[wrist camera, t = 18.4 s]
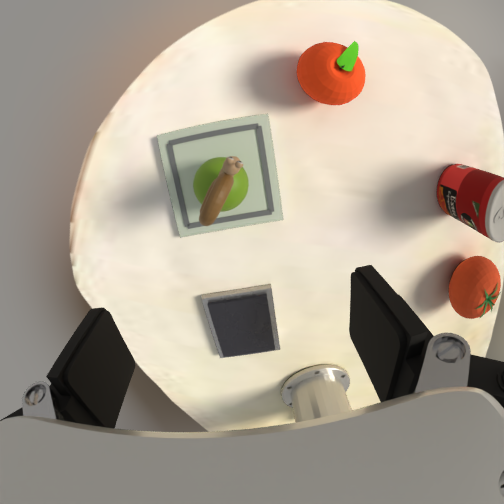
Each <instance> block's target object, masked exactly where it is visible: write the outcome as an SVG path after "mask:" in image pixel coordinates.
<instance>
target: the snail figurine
mask: <svg viewBox="0 0 504 504" xmlns="http://www.w3.org/2000/svg"><path fill="white" fill-rule="evenodd" d="M248 187H249V181H248V176H247V173H246V171H245V170H244V168H243V162H241V161H240V159H239V158H238V157H236V156H230V157H216V158H212V159H210V160H208V161H206V162H205V163H203V164H202V165H201V166H200V167H199V169H198V170H197V172H196V174H195V177H194V181H193V189H194V193H195V196H196V198H197V199H198V201H199V202H200V203H201V204H202V206H201V208H200V215H199V222H200V223H201V224H202V225H203V226H210V225H211V224H213V223H214V221H215V220H216V218H217V217H218V215H219V213H220V212H225V211H229V210H232V209H234V208H236V207H237V206H238V205H240V204H241V203H242V201H243V200H244V199H245V197H246V195H247V192H248Z"/></svg>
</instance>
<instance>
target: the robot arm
mask: <svg viewBox="0 0 504 504" xmlns="http://www.w3.org/2000/svg"><path fill="white" fill-rule="evenodd" d="M349 331H350V337H351V339H352V341H353V344H354V346H355V348H356V350H357V352H358V354H359V356H360V358H361V360H362V362H363V364H364V366H365V369H366V371H367V373H368V375H369V377H370V379H371V382H372V384H373V386H374V388H375V390H376V393H377V395H378V397H379V399H380V401H381V402H380V403H377V404H374V405H370V406H367V407H363V408H360V409H356V410H352V409H351V406H350V404H349V401H348V398H347V395H346V391H347V389H348V387H349V384H350V378H349V375H348V373H347V371H346V370H344V369H343V368H341V367H339V366H335V365H318V366H313V367H310V368H307V369H304V370H302V371H300V372H298V373H296V374H294V375H293V376H292V377H290V378H289V379H288V380H287V381H286V382H285V384H284V385H283V387H282V390H281V395H282V399H283V401H284V403H285V404H286V405H288V406H290V407H292V408H293V412H294V417H295V423H290V424H284V425H277V426H270V427H262V428H254V429H243V430H232V431H216V432H152V431H136V430H123V429H114V428H115V425H116V421H117V418H118V415H119V412H120V409H121V406H122V403H123V400H124V397H125V394H126V391H127V388H128V386H129V383H130V380H131V377H132V374H133V372H134V369H135V360H134V358H133V356H132V355H131V353H130V351H129V349H128V347H127V345H126V344H125V342H124V340H123V338H122V336H121V334H120V332H119V330H118V328H117V326H116V324H115V322H114V320H113V318H112V316H111V314H110V312H109V311H107V310H106V309H105V308H95V309H91V310H90V311H89V312H88V314H87V315H86V316H85V318H84V319H83V321H82V322H81V324H80V325H79V327H78V328H77V329H76V331H75V332H74V334H73V335H72V337H71V338H70V340H69V341H68V343H67V344H66V346H65V348H64V349H63V351H62V352H61V354H60V355H59V357H58V358H57V360H56V362H55V363H54V365H53V367H52V368H51V370H50V372H49V373H48V375H47V378H48V379H49V380H50V382H51V385H50V386H49V385H48V384H47V383H46V382H43V381H40V382H36V383H34V384H32V385H31V386H29V387H28V388H27V389H26V391H25V392H24V394H23V397H22V408H21V409H19V410H17V411H15V412H14V413H12V414H10V415H9V416H7V417H5V418H3V419H2V420H0V504H504V362H501V361H497V360H492V359H488V358H484V357H479V356H475V355H471V354H470V347H469V345H468V343H467V341H466V340H465V339H464V338H462V337H460V336H459V335H456V334H453V333H441V334H438V335H436V336H433V335H432V333H431V332H430V331H429V330H428V328H427V327H426V326H425V325H424V323H423V322H422V321H421V320H420V319H419V317H418V316H417V315H416V314H415V313H414V311H413V310H412V309H411V308H410V307H409V305H408V304H407V303H406V302H405V301H404V300H403V298H402V297H401V296H400V295H398V294H397V293H396V292H395V291H394V290H393V289H392V288H391V286H390V285H389V284H388V283H387V282H386V281H385V280H384V278H383V277H382V276H381V275H380V274H379V273H378V272H377V271H376V270H375V268H374V267H373V266H372V265H368V266H363V267H358V268H356V269H355V272H353V273H351V301H350V327H349Z"/></svg>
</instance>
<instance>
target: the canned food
mask: <svg viewBox="0 0 504 504" xmlns="http://www.w3.org/2000/svg"><path fill="white" fill-rule="evenodd" d="M437 199H438V202H439V205H440V207H441V208H442V209H443V211H444V212H445V213H446V214H448V215H450V216H452V217H454V218H455V219H457V220H459V221H461V222H463V223H464V224H466V225H468V226H469V227H471V228H473V229H474V230H476V231H478V232H479V233H481V234H483V235H484V236H486V237H488V238H490V239H491V240H493V241H495V242H503V241H504V178H503V177H501V176H498V175H495V174H492V173H489V172H486V171H483V170H479V169H476V168H473V167H469V166H466V165H462V164H455V165H451V166H449V167H448V168H446V169H445V170H444V172H443V173H442V175H441V176H440V179H439V181H438V185H437Z"/></svg>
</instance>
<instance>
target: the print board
mask: <svg viewBox="0 0 504 504" xmlns="http://www.w3.org/2000/svg"><path fill="white" fill-rule="evenodd" d="M157 139H158V144H159V149H160V154H161V159H162V163H163V168H164V173H165V177H166V182H167V186H168V190H169V195H170V199H171V203H172V207H173V211H174V215H175V219H176V223H177V227H178V231H179V235H180V238H181V237H186V236H192V235H197V234H203V233H208V232H214V231H220V230H226V229H231V228H237V227H243V226H249V225H255V224H261V223H267V222H274V221H280V220H283V213H282V205H281V197H280V190H279V183H278V175H277V168H276V161H275V155H274V148H273V141H272V135H271V128H270V122H269V116H268V114H262V115H255V116H248V117H241V118H235V119H229V120H224V121H218V122H213V123H208V124H203V125H198V126H194V127H189V128H185V129H181V130H177V131H173V132H169V133H165V134H161V135H157ZM230 156H236V157H238V158H239V159H240V161H241V162H243V168H244V170H245V171H246V173H247V176H248V181H249V187H248V192H247V195H246V197H245V199H244V200H243V201H242V203H241V204H240V205H238V206H237V207H236V208H234V209H232V210H229V211H225V212H220V213H219V215H218V217H217V218H216V220H215V221H214V223H213V224H211V225H210V226H203V225H202V224H201V223H200V222H199V215H200V208H201V206H202V204H201V203H200V202H199V201H198V199H197V198H196V196H195V193H194V189H193V181H194V177H195V174H196V172H197V170H198V169H199V167H200V166H201V165H202V164H203V163H205V162H206V161H208V160H210V159H212V158H216V157H230Z"/></svg>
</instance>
